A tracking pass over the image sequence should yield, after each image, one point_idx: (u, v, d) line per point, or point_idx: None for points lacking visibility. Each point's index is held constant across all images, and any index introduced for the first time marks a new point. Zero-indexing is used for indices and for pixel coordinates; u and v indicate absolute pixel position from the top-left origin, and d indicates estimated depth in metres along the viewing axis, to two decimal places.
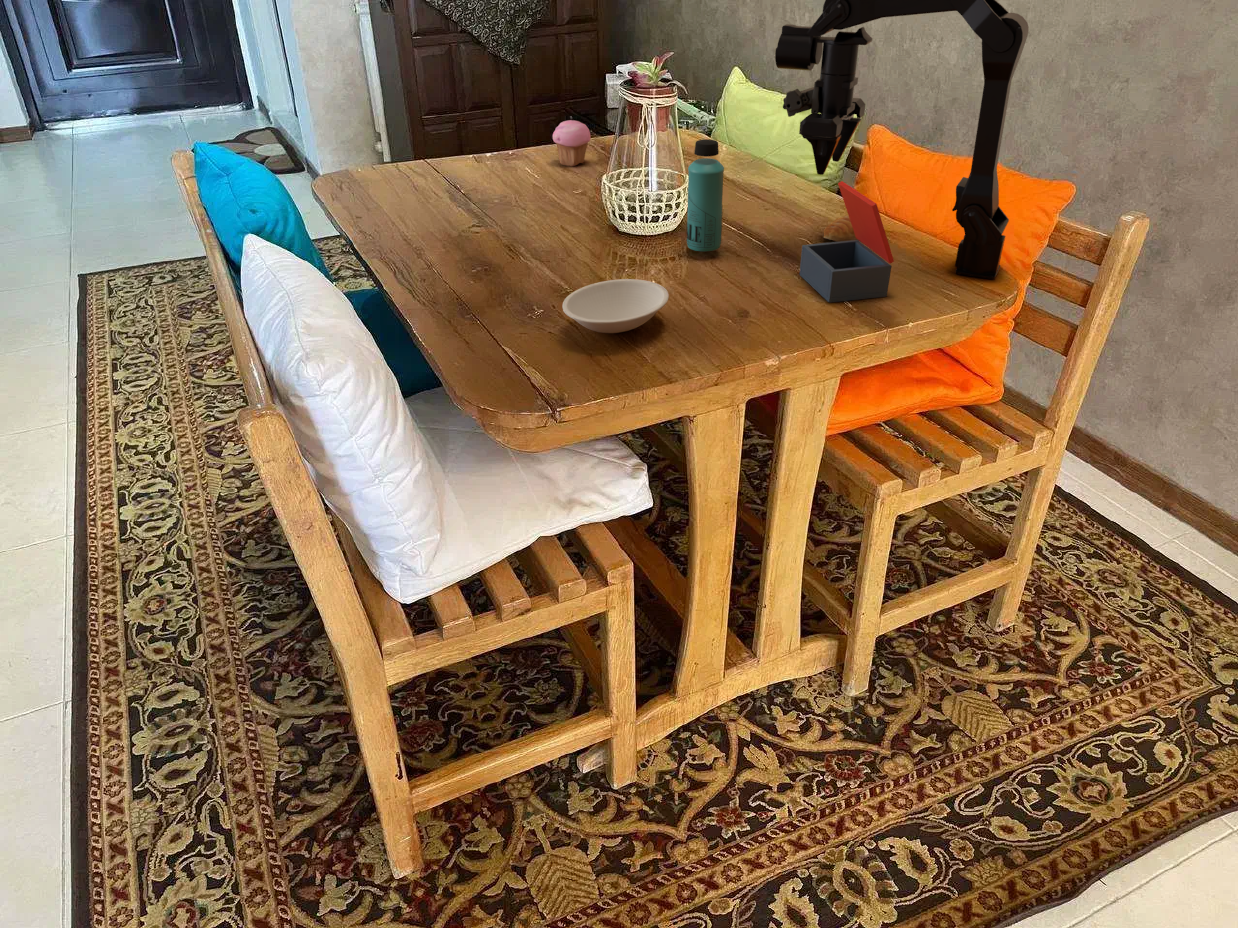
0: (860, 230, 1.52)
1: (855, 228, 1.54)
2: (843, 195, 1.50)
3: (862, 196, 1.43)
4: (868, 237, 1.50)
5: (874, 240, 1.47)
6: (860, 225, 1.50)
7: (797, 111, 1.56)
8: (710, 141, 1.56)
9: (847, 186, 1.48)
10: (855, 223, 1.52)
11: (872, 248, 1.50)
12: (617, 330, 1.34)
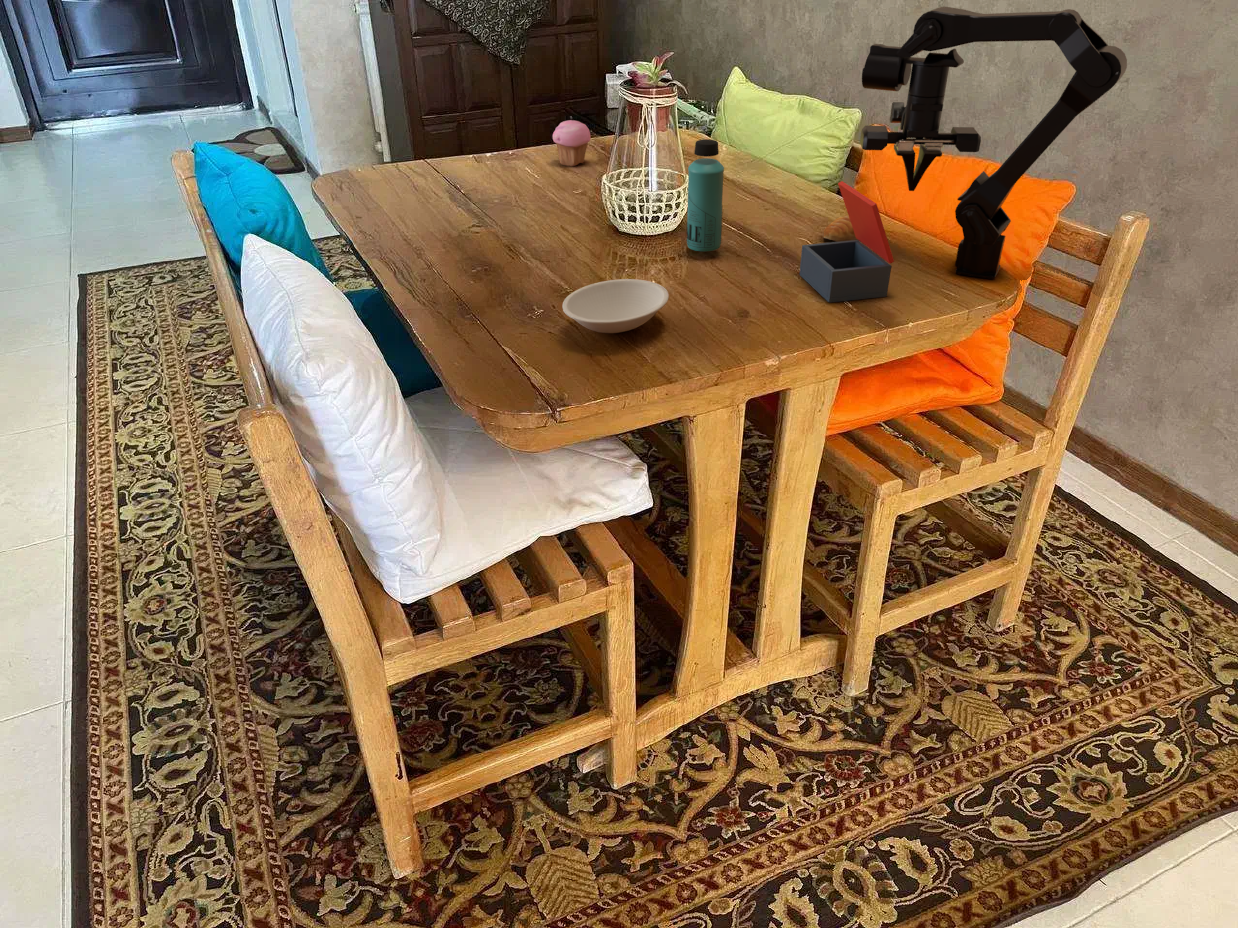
0: (860, 230, 1.52)
1: (855, 228, 1.54)
2: (843, 195, 1.50)
3: (862, 196, 1.43)
4: (868, 237, 1.50)
5: (874, 240, 1.47)
6: (860, 225, 1.50)
7: None
8: (710, 141, 1.56)
9: (847, 186, 1.48)
10: (855, 223, 1.52)
11: (872, 248, 1.50)
12: (617, 330, 1.34)
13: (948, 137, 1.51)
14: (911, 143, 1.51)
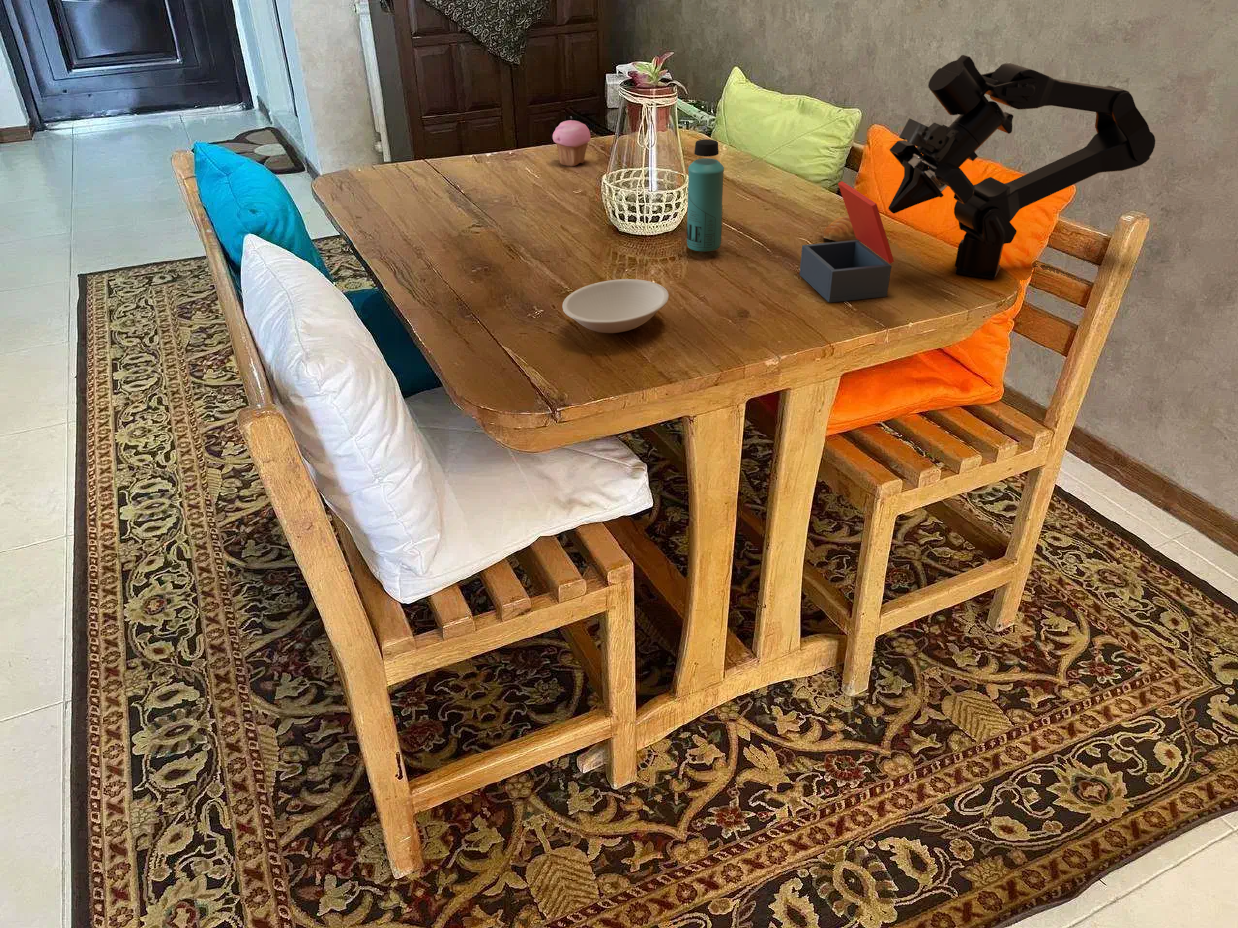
0: (860, 230, 1.52)
1: (855, 228, 1.54)
2: (843, 195, 1.50)
3: (862, 196, 1.43)
4: (868, 237, 1.50)
5: (874, 240, 1.47)
6: (860, 225, 1.50)
7: (923, 145, 1.41)
8: (710, 141, 1.56)
9: (847, 186, 1.48)
10: (855, 223, 1.52)
11: (872, 248, 1.50)
12: (617, 330, 1.34)
13: None
14: None
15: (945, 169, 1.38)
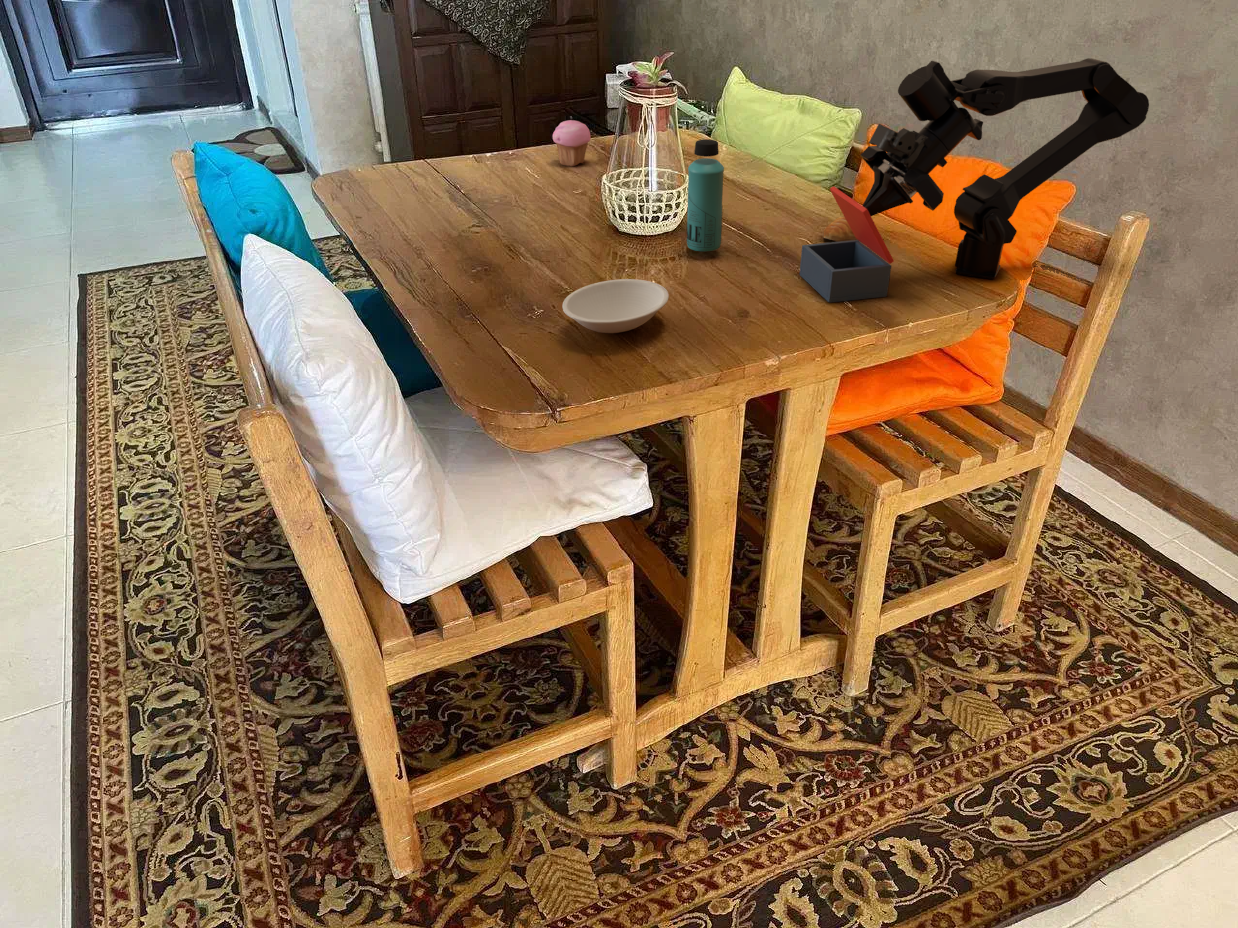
0: (858, 232, 1.52)
1: (853, 230, 1.54)
2: (836, 200, 1.51)
3: (853, 202, 1.44)
4: (866, 239, 1.50)
5: (872, 242, 1.47)
6: (857, 227, 1.50)
7: (892, 151, 1.40)
8: (710, 141, 1.56)
9: (838, 191, 1.48)
10: (852, 225, 1.52)
11: (872, 249, 1.50)
12: (617, 330, 1.34)
13: None
14: None
15: (914, 175, 1.37)
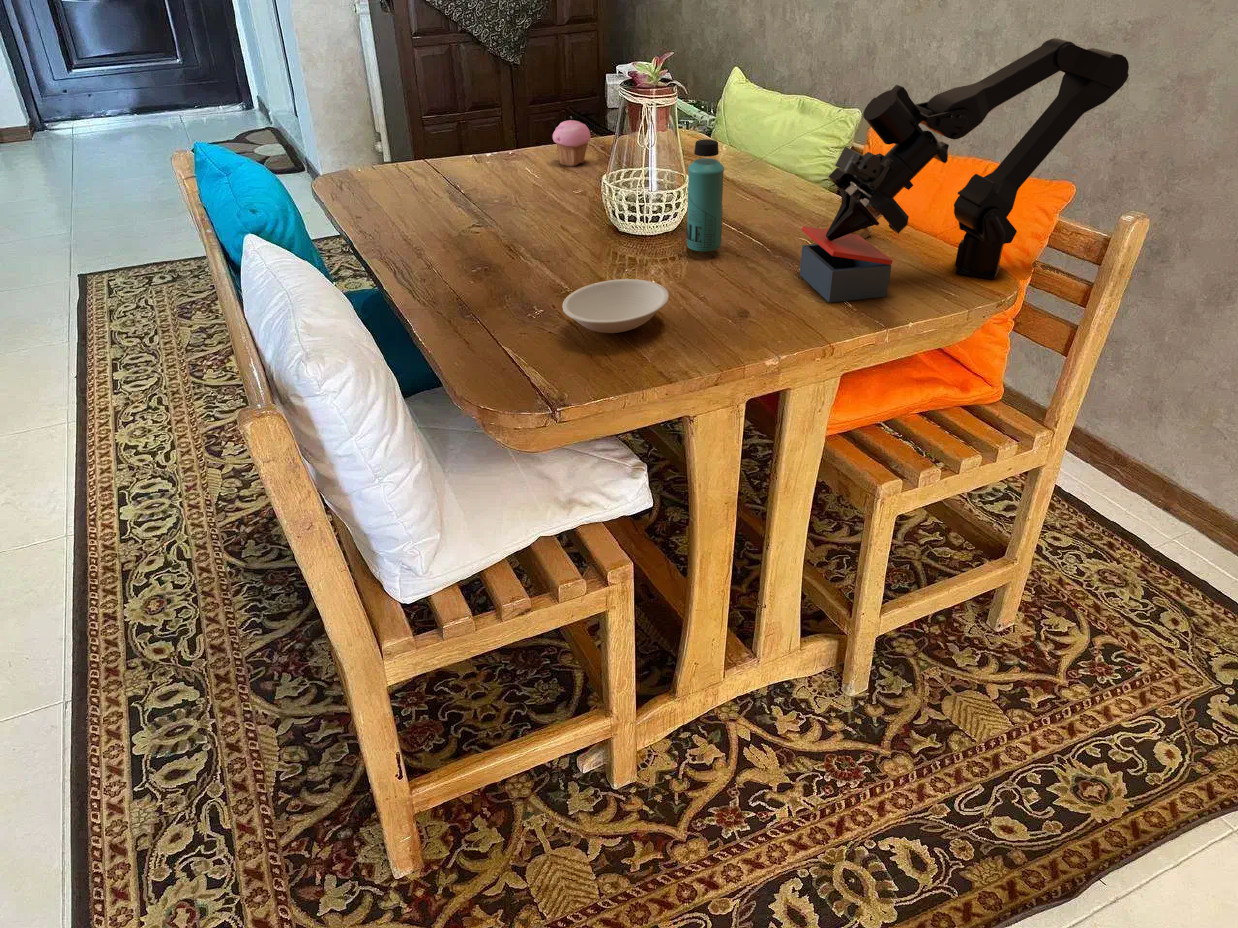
0: None
1: None
2: None
3: (822, 244, 1.46)
4: None
5: None
6: None
7: (858, 174, 1.41)
8: (710, 141, 1.56)
9: (808, 233, 1.51)
10: None
11: None
12: (617, 330, 1.34)
13: None
14: None
15: (878, 198, 1.38)
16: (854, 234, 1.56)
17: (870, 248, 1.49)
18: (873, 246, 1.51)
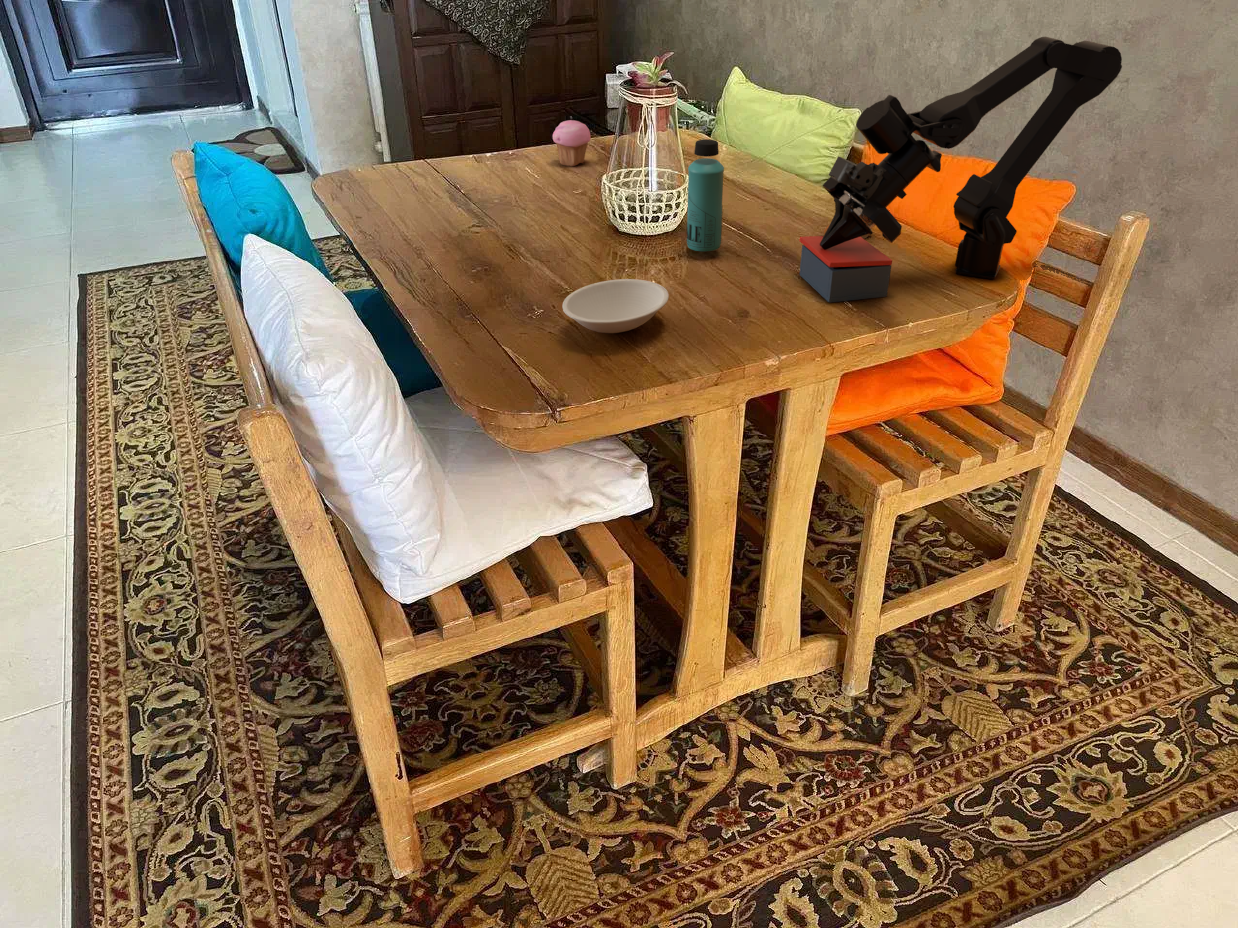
0: None
1: None
2: None
3: (819, 255, 1.47)
4: None
5: None
6: None
7: (851, 184, 1.41)
8: (710, 141, 1.56)
9: (805, 243, 1.52)
10: None
11: None
12: (617, 330, 1.34)
13: None
14: None
15: (872, 208, 1.39)
16: None
17: (869, 250, 1.50)
18: (873, 246, 1.51)
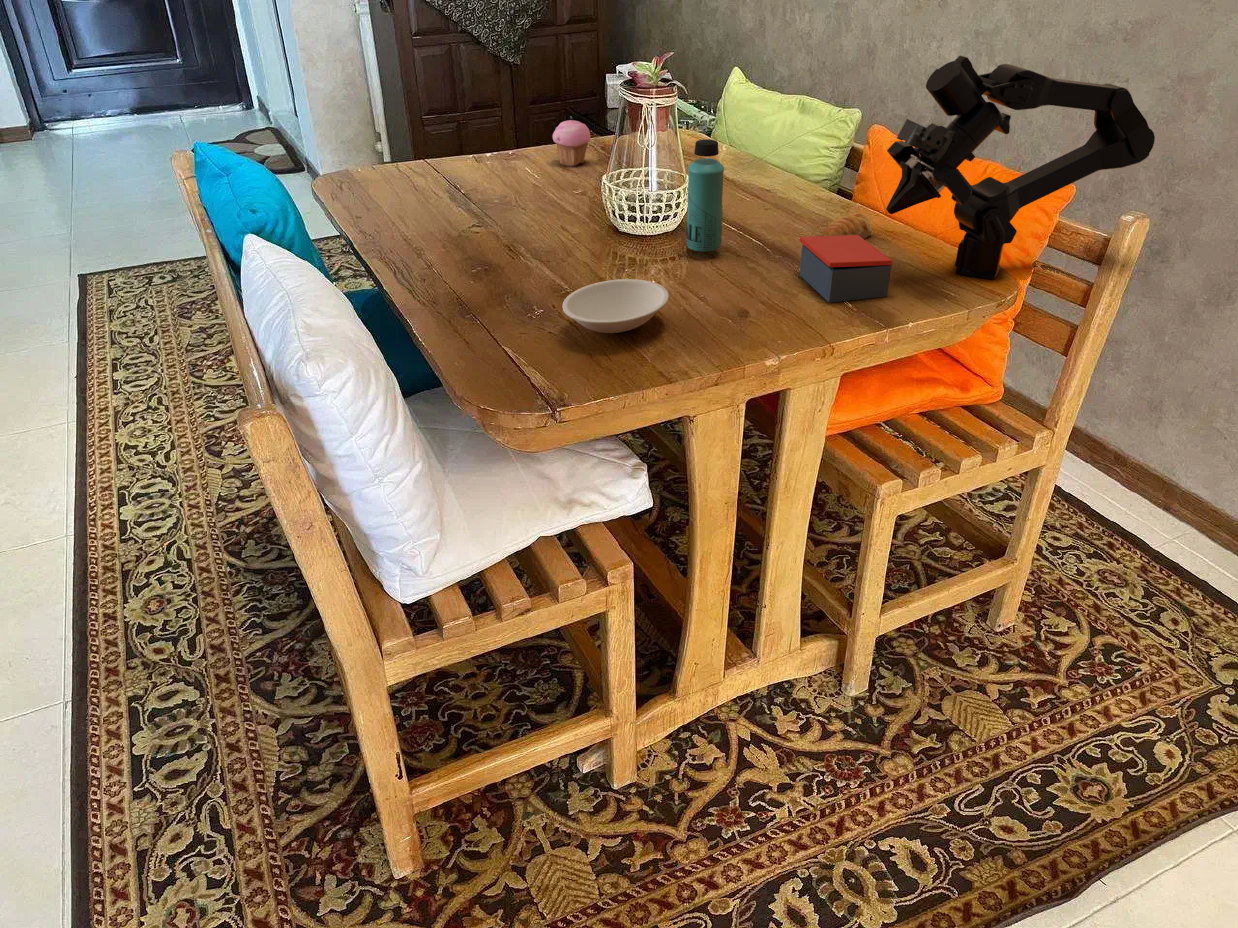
0: None
1: None
2: None
3: (819, 255, 1.47)
4: None
5: None
6: None
7: (921, 146, 1.41)
8: (710, 141, 1.56)
9: (805, 243, 1.52)
10: None
11: None
12: (617, 330, 1.34)
13: None
14: None
15: (943, 170, 1.38)
16: (853, 235, 1.56)
17: (869, 250, 1.50)
18: (873, 246, 1.51)
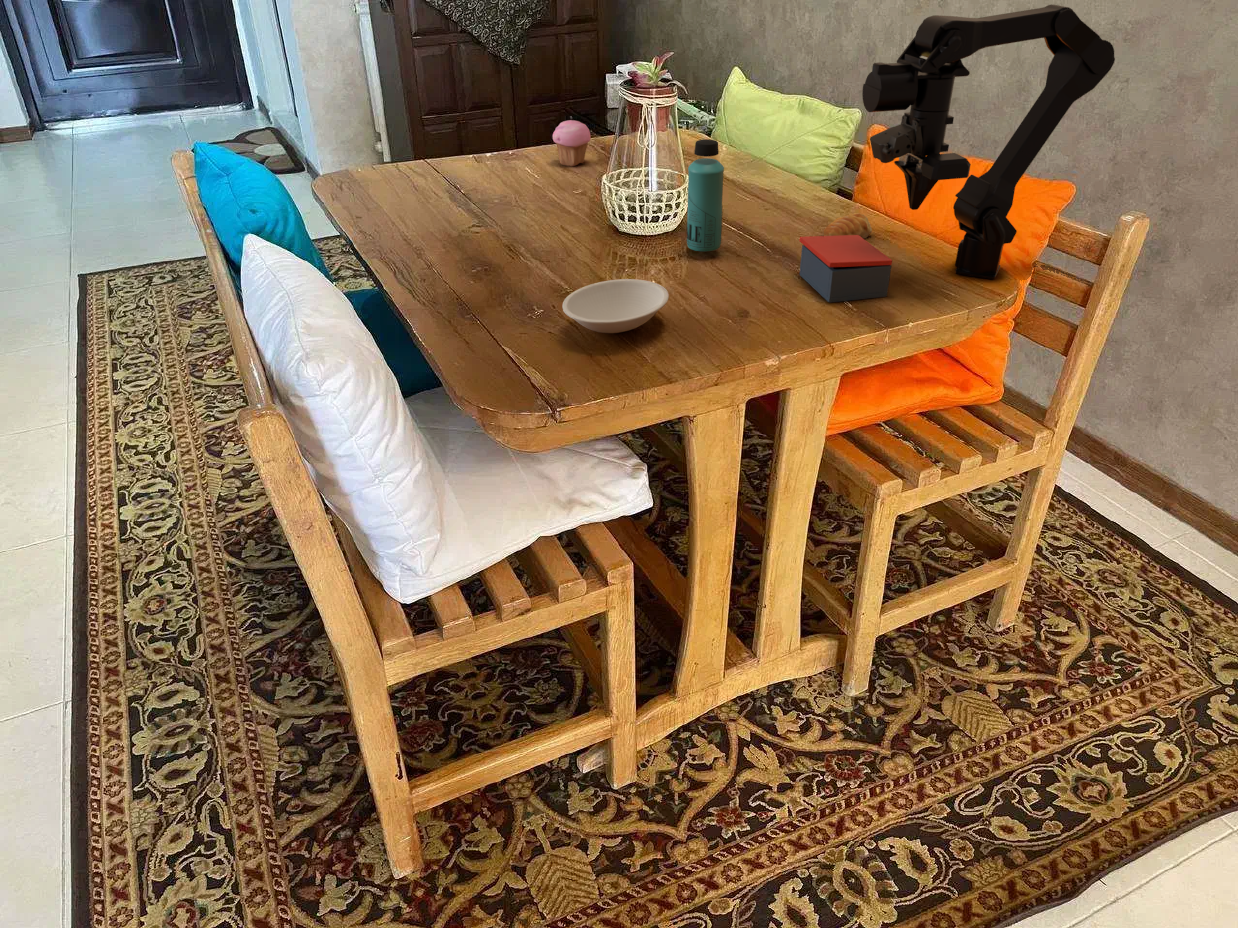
0: None
1: None
2: None
3: (819, 255, 1.47)
4: None
5: None
6: None
7: None
8: (710, 141, 1.56)
9: (805, 243, 1.52)
10: None
11: None
12: (617, 330, 1.34)
13: None
14: None
15: (928, 168, 1.37)
16: (853, 235, 1.56)
17: (869, 250, 1.50)
18: (873, 246, 1.51)
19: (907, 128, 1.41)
